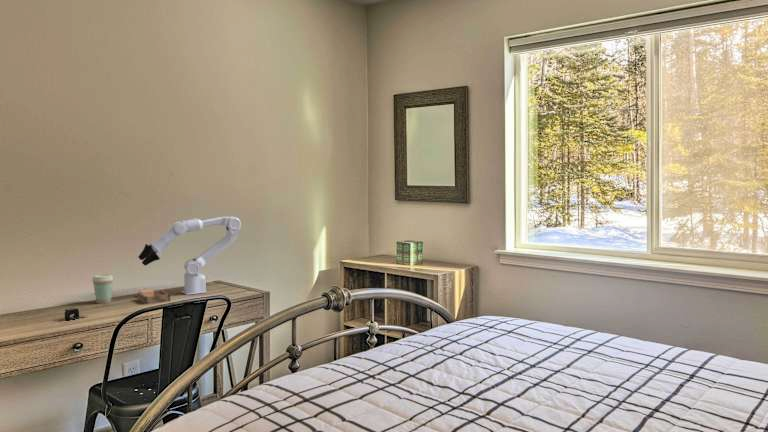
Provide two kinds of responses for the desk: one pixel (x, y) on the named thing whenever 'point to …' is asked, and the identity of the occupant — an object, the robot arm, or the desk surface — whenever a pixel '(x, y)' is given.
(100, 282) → the coffee cup
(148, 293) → the salmon pink block
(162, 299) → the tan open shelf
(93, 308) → the desk surface
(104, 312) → the desk surface
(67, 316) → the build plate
